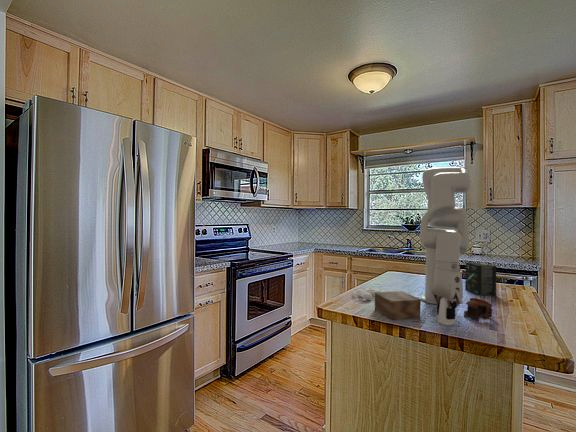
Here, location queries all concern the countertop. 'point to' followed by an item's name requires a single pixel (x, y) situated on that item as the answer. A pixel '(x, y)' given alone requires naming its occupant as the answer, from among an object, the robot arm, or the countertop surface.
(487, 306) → the dark brown rounded lump
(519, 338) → the countertop surface
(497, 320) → the countertop surface
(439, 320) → the pepper shaker
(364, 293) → the tangled rod sculpture
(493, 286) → the tampon box
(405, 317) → the walnut box
